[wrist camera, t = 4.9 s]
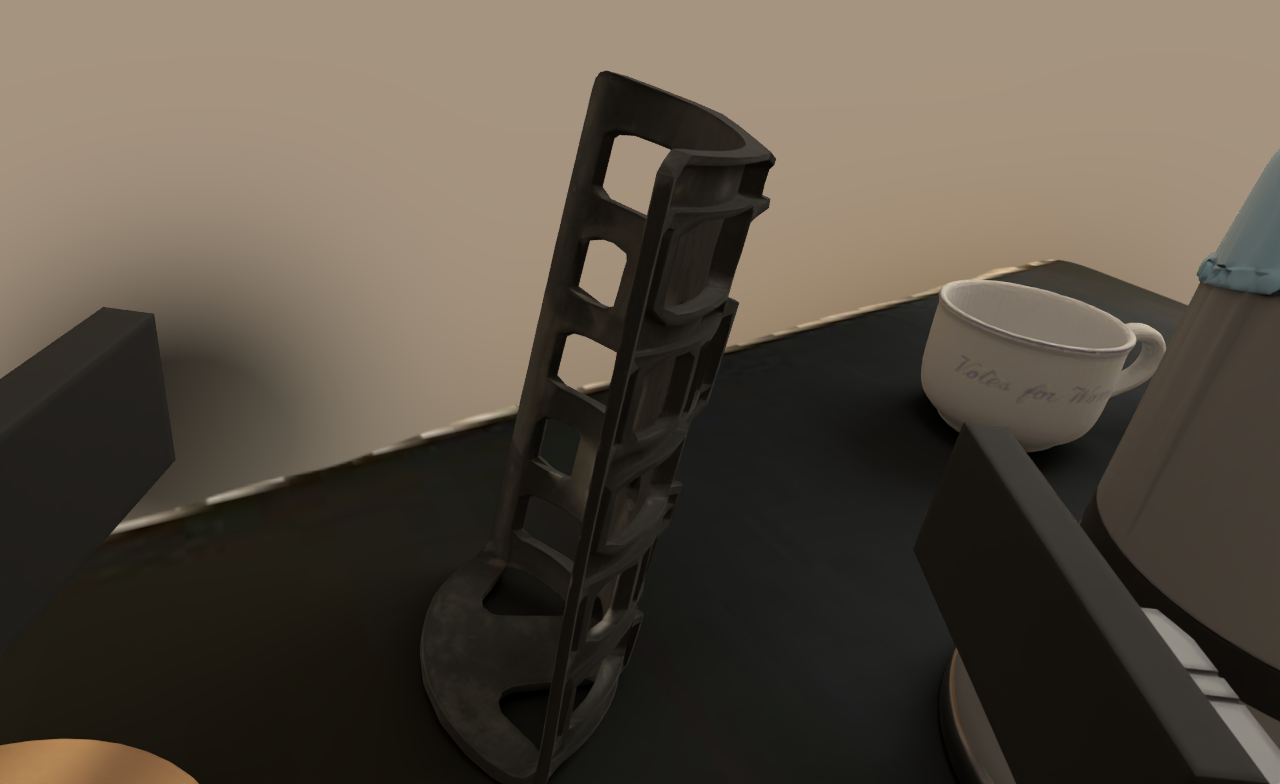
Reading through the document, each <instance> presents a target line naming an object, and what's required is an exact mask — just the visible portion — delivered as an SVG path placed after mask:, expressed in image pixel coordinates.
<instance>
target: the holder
mask: <svg viewBox="0 0 1280 784" xmlns="http://www.w3.org/2000/svg"><path fill="white" fill-rule="evenodd" d="M619 135H631V136H637V137H640V138H642V139H645V140H648V141H650V142H653V143H656V144H658V145H661V146H663V147H665V148H668V149H670V150H671V151H670V152H669V154H668V155H667V157H666V158H665V159H664V161H663V163H662V164H661V166H660V168H659V170H658V172H657V174H656V178H655V183H654V187H653V192H652V196H651V201H650V205H649V210H648V214H647V215H645V214H642V213H640V212H638V211H636V210H634V209H631V208H629V207H627V206H625V205H623V204H621V203H618V202H616V201H614V200H612V199H611V198H610V197H609V195H608V194H607V193H606V191H605V190H604V188H603V183H604V178H605V175H606V170H607V167H608V162H609V158H610V154H611V150H612V146H613V142H614V138H616V137H617V136H619ZM775 161H776V158H775V157H774V156H773V154H772V153H771V152H770V151H769V150H768V149H767V148H766V147H764V146H763V145H762V144H761V143H759V142H758V141H757V140H756V139H755V138H753V137H752V136H751V135H750V134H749V133H747V132H746V131H745V130H744V129H742V128H741V127H740V126H739V125H737V124H736V123H734V122H733V121H732V120H730V119H728V118H727V117H726V116H724V115H723V114H721V113H719V112H716V111H714V110H712V109H709V108H707V107H705V106H702V105H700V104H698V103H696V102H693V101H691V100H688V99H685V98H683V97H680V96H678V95H675V94H672V93H670V92H667V91H664V90H662V89H660V88H657V87H655V86H652V85H649V84H646V83H644V82H641V81H638V80H636V79H633V78H630V77H628V76H624V75H620V74H617V73H613V72H610V71H603V72H600V73H599V75H598V76H597V77H596V79H595V82H594V85H593V89H592V93H591V97H590V101H589V105H588V109H587V114H586V118H585V122H584V126H583V130H582V134H581V139H580V143H579V147H578V151H577V156H576V160H575V164H574V168H573V173H572V177H571V181H570V186H569V189H568V194H567V198H566V202H565V207H564V211H563V215H562V220H561V224H560V229H559V232H558V237H557V241H556V245H555V249H554V254H553V259H552V263H551V268H550V272H549V277H548V282H547V286H546V289H545V294H544V298H543V303H542V308H541V312H540V317H539V321H538V325H537V330H536V334H535V338H534V343H533V348H532V352H531V356H530V361H529V366H528V370H527V374H526V378H525V383H524V387H523V391H522V396H521V400H520V405H519V409H518V414H517V418H516V423H515V428H514V432H513V437H512V442H511V446H510V450H509V454H508V459H507V463H506V468H505V473H504V477H503V482H502V486H501V491H500V496H499V501H498V506H497V511H496V516H495V520H494V524H493V529H492V533H491V537H490V539H489V541H488V543H487V545H486V546H485V547H484V548H483V549H482V550H481V551H480V552H479V554H478V555H477V556H476V557H475V558H473V559H472V560H470V561H469V562H467V563H466V564H464V565H463V566H461V567H460V568H459V569H458V570H456V571H455V572H454V573H453V574H452V575H451V576H450V577H449V578H448V579H447V580H446V581H445V582H444V583H443V585H442V586H441V587H440V588H439V590H438V591H437V592H436V594H435V595H434V597H433V599H432V601H431V604H430V606H429V609H428V611H427V614H426V617H425V621H424V625H423V630H422V635H421V642H420V659H421V668H422V677H423V685H424V687H425V690H426V692H427V694H428V697H429V699H430V701H431V703H432V706H433V708H434V710H435V712H436V715H437V717H438V719H439V722H440V723H441V725H442V726H443V727H444V728H445V730H446V731H447V732H448V733H449V735H450V736H451V737H452V738H453V740H454V741H455V742H456V744H457V745H458V746H459V747H460V749H461V750H462V751H463V752H464V754H465V755H466V756H468V757H469V758H470V759H471V760H472V761H473V762H474V763H476V764H477V765H478V766H479V767H480V768H481V769H482V770H484V771H485V772H486V773H487V774H488V775H490V776H491V777H492V778H493V779H495V780H497V781H498V782H500V783H502V784H547V782H548V779H549V777H550V776H551V775H552V774H553V773H554V771H555V770H556V769H557V767H558V766H559V765H560V764H561V763H562V762H564V761H565V760H566V759H567V758H569V757H570V756H571V755H572V754H574V753H575V752H576V751H577V750H578V749H579V748H580V747H581V746H582V745H583V744H584V743H585V741H586V740H587V739H588V738H589V737H590V736H591V734H592V733H593V732H594V731H595V729H596V728H597V727H598V725H599V724H600V722H601V720H602V719H603V717H604V715H605V714H606V712H607V710H608V708H609V706H610V704H611V702H612V700H613V697H614V694H615V691H616V687H617V684H618V677H619V675H620V674H621V672H622V671H623V670H624V669H625V668H626V666H627V665H628V663H629V660H630V658H631V655H632V652H633V649H634V646H635V643H636V640H637V637H638V634H639V631H640V627H641V624H642V621H643V618H644V614H643V612H642V611H641V610H637V609H638V606H636V604H637V602H638V601H639V598H640V596H641V594H642V592H643V589H644V581H645V577H646V573H647V570H648V567H649V564H650V561H651V557H652V554H653V551H654V548H655V544H656V541H657V538H658V537H659V536H660V535H661V534H662V533H663V531H664V530H665V529H666V528H667V527H668V526H669V525H670V522H671V519H672V516H673V513H674V510H675V507H676V504H677V501H678V499H679V496H680V493H681V490H682V487H683V485H682V484H681V483H680V482H678V481H673V480H674V477H675V474H676V471H677V468H678V465H679V462H680V458H681V454H682V450H683V446H684V442H685V438H686V434H687V432H688V429H689V426H690V423H691V420H692V419H693V418H694V417H695V416H696V415H697V414H698V413H699V412H700V411H701V410H703V408H704V407H705V406H706V405H707V404H708V401H709V398H710V395H711V391H712V388H713V385H714V382H715V379H716V376H717V373H718V369H719V366H720V363H721V360H722V357H723V354H724V350H725V347H726V344H727V340H728V337H729V334H730V331H731V328H732V325H733V321H734V318H735V315H736V312H737V308H738V305H739V302H737V301H736V300H734V299H732V298H729V297H728V295H729V292H730V288H731V285H732V281H733V278H734V274H735V270H736V267H737V265H738V262H739V259H740V256H741V253H742V250H743V246H744V243H745V239H746V236H747V233H748V229H749V226H750V223H751V222H752V221H753V219H755V218H756V217H757V216H758V215H760V214H761V213H762V212H764V211H765V210H767V209H768V208H769V203H770V199H769V198H768V197H765V196H763V195H762V193H763V189H764V184H765V181H766V178H767V175H768V172H769V169H770V168H771V167H773V166H774V164H775ZM590 240H606V241H609V242H612V243H614V244H616V245H617V246H618V247H619V248H620V249H621V250H623V251H624V252H625V253H626V255H627V262H626V265H625V268H624V271H623V275H622V279H621V283H620V286H619V290H618V293H617V297H616V300H615V303H614V306H613V307H608V306H605V305H603V304H601V303H600V302H598V301H597V300H596V299H595V298H593V297H592V296H591V295H589V294H588V293H587V292H585V291H584V290H583V289H582V288H580V287H579V282H580V278H581V274H582V270H583V266H584V262H585V258H586V254H587V250H588V246H589V242H590ZM571 334H578V335H581V336H585V337H587V338H590V339H592V340H594V341H596V342H598V343H600V344H602V345H604V346H605V347H607V348H609V349H612V350H613V351H615V352H617V356H616V361H615V366H614V371H613V375H612V379H611V383H610V388H609V394H608V401H607V407H606V406H604V405H603V404H601V403H600V402H598V401H596V400H594V399H592V398H590V397H588V396H586V395H584V394H583V393H581V392H579V391H577V390H575V389H573V388H571V387H569V386H567V385H566V384H565V383H564V382H563V381H562V380H561V379H560V378H559V377H558V375H557V374H558V370H559V366H560V362H561V358H562V354H563V350H564V346H565V342H566V338H567V336H569V335H571ZM548 419H556V420H559V421H562V422H564V423H566V424H568V425H570V426H571V427H573V428H575V430H576V431H577V432H578V434H579V435H580V437H581V438H580V442H579V446H578V450H577V455H576V459H575V463H574V467H573V471H572V474H571V476H568V475H566V474H564V473H561V472H559V471H557V470H555V469H553V468H552V467H551V466H550V465H549V464H548V463H547V462H546V461H545V460H544V459H543V458H542V457H541V456H540V451H541V447H542V442H543V438H544V433H545V429H546V425H547V420H548ZM529 496H536V497H539V498H541V499H544V500H546V501H548V502H550V503H552V504H554V505H556V506H558V507H559V508H561V509H563V510H564V511H566V512H567V513H568V514H570V515H571V516H573V517H574V518H575V519H577V520H578V521H579V522H580V523H581V524H582V526H581V531H580V536H579V540H578V545H577V550H576V555H575V559H574V562H572V561H571V560H570V559H568V558H567V557H565V556H564V555H562V554H560V553H559V552H557V551H555V550H554V549H552V548H550V547H548V546H547V545H545V544H543V543H542V542H540V541H538V540H536V539H534V538H532V537H531V536H530V535H529V534H528V533H527V532H526V531H525V530H524V529H523V528H522V527H523V523H524V518H525V514H526V510H527V505H528V501H529ZM508 566H511V567H514V568H517V569H519V570H521V571H524V572H526V573H528V574H530V575H532V576H534V577H536V578H537V579H539V580H540V581H542V582H543V583H545V584H546V585H548V586H549V587H550V588H551V589H553V590H554V591H555V592H557V593H558V594H559V595H560V596H561V597H562V598H563V599H564V600H565V601H566V605H565V610H564V615H563V616H498V615H495V614H492V613H490V612H489V611H488V610H486V609H485V608H484V607H483V606H482V600H483V599H484V598H485V597H486V595H487V594H488V593H489V592H490V590H491V589H492V588H493V586H494V585H495V584H496V583H497V581H498V580H499V579H500V578H501V576H502V575H503V574H504V573H505V571H506V570H507V568H508ZM593 683H594V685H593V687H592V688H591V690H590V692H589V693H588V695H587V697H586V698H585V700H584V701H583V702H582V703H581V704H580V705H579V706H578V708H577V709H576V710H575V711H574V712H573V713H572V710H573V705H574V699H575V694H576V689H577V686H581V685H587V684H593ZM545 689H550V694H549V700H548V706H547V712H546V718H545V724H544V729H543V735H542V741H541V746H540V749H539V748H537V747H536V746H535V745H534V744H533V743H532V742H531V741H530V740H529V739H528V738H527V737H526V736H525V735H523V734H522V733H521V732H520V731H519V730H518V729H517V728H516V727H515V726H514V725H513V724H512V723H511V722H510V721H509V720H508V719H507V718H506V717H505V716H504V715H503V714H502V713H501V710H500V706H499V702H500V700H501V699H502V698H504V697H506V696H508V695H510V694H512V693H517V692H526V691H536V690H545Z"/></svg>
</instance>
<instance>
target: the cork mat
mask: <svg viewBox="0 0 1280 784" xmlns="http://www.w3.org/2000/svg"><path fill="white" fill-rule="evenodd" d="M0 784H199V783H198V782H197V781H196V780H195V779H194V778H193V777H192V776H190V775H189V774H187V773H186V772H184V771H183V770H181V769H180V768H178V767H177V766H175V765H174V764H172V763H171V762H169V761H167V760H164V759H162V758H160V757H158V756H156V755H154V754H151V753H149V752H147V751H143V750H140V749H136V748H133V747H129V746H126V745H123V744H117V743H110V742H104V741H97V740H82V739H52V740H36V741H26V742H20V743H13V744H7V745H0Z"/></svg>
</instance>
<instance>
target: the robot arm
mask: <svg viewBox="0 0 1280 784" xmlns="http://www.w3.org/2000/svg"><path fill="white" fill-rule="evenodd" d="M1197 276H1198V277H1199V281H1200V284H1199V286H1198V288H1197V290H1196V292H1195V294H1194V296H1193V298H1192V300H1191V302H1190V304H1189V306H1188V308H1187V310H1186V312H1185V314H1184V316H1183V318H1182V320H1181V322H1180V324H1179V326H1178V327H1177V329H1176V331H1175V333H1174V335H1173V337H1172V339H1171V341H1170V343H1169V345H1168V347H1167V349H1166V351H1165V353H1164V355H1163V357H1162V359H1161V361H1160V363H1159V365H1158V367H1157V369H1156V371H1155V373H1154V375H1153V377H1152V379H1151V381H1150V383H1149V385H1148V387H1147V389H1146V391H1145V393H1144V395H1143V397H1142V399H1141V401H1140V403H1139V405H1138V407H1137V409H1136V411H1135V413H1134V415H1133V417H1132V419H1131V421H1130V423H1129V425H1128V427H1127V429H1126V431H1125V433H1124V435H1123V437H1122V439H1121V441H1120V443H1119V445H1118V447H1117V449H1116V451H1115V453H1114V455H1113V457H1112V459H1111V461H1110V463H1109V465H1108V467H1107V469H1106V471H1105V473H1104V475H1103V477H1102V479H1101V481H1100V483H1099V485H1098V487H1097V489H1096V491H1095V493H1094V495H1093V497H1092V499H1091V500H1090V502H1089V504H1088V506H1087V508H1086V510H1085V512H1084V514H1083V516H1082V518H1081V520H1080V522H1079V524H1078V522H1077V521H1076V519H1075V518H1074V517H1073V515H1072V514H1071V513H1070V511H1069V510H1068V509H1067V507H1066V506H1065V505H1064V503H1063V502H1062V500H1061V499H1060V498H1059V496H1058V495H1057V494H1056V492H1055V491H1054V490H1053V488H1052V487H1051V486H1050V484H1049V483H1048V481H1047V480H1046V479H1045V477H1044V476H1043V475H1042V473H1041V472H1040V471H1039V469H1038V468H1037V466H1036V465H1035V464H1034V462H1033V461H1032V460H1031V458H1030V457H1029V456H1028V454H1027V453H1026V452H1025V450H1024V449H1023V447H1022V446H1021V445H1020V443H1019V442H1018V441H1017V439H1016V438H1015V437H1014V435H1013V434H1012V433H1011V431H1010V430H1009V428H1007V427H1000V426H992V425H985V424H977V423H970V422H964V423H963V425H962V428H961V430H960V433H959V435H958V438H957V440H956V443H955V445H954V448H953V450H952V453H951V455H950V458H949V461H948V463H947V466H946V468H945V471H944V473H943V476H942V478H941V481H940V483H939V486H938V488H937V491H936V493H935V496H934V498H933V501H932V503H931V506H930V508H929V511H928V513H927V516H926V518H925V521H924V523H923V526H922V529H921V531H920V534H919V536H918V539H917V541H916V544H915V546H914V549H913V550H914V552H915V554H916V557H917V559H918V561H919V564H920V566H921V568H922V570H923V573H924V575H925V577H926V580H927V582H928V584H929V586H930V589H931V591H932V593H933V596H934V598H935V600H936V602H937V605H938V607H939V609H940V611H941V614H942V616H943V618H944V621H945V623H946V625H947V627H948V630H949V632H950V634H951V637H952V639H953V641H954V643H955V646H956V648H955V650H954V652H953V655H952V657H951V659H950V661H949V663H948V666H947V668H946V670H945V673H944V676H943V679H942V683H941V688H940V695H939V714H940V724H941V729H942V734H943V739H944V743H945V746H946V749H947V752H948V756H949V759H950V761H951V764H952V766H953V768H954V771H955V773H956V776H957V778H958V780H959V782H960V784H1280V149H1279V150H1278V151H1277V152H1276V154H1275V155H1274V156H1273V157H1272V158H1271V160H1270V161H1269V163H1268V164H1267V166H1266V167H1265V169H1264V171H1263V172H1262V174H1261V176H1260V178H1259V179H1258V181H1257V183H1256V184H1255V186H1254V188H1253V189H1252V191H1251V193H1250V194H1249V196H1248V198H1247V200H1246V201H1245V203H1244V205H1243V206H1242V208H1241V210H1240V211H1239V213H1238V215H1237V216H1236V218H1235V220H1234V222H1233V223H1232V225H1231V226H1230V228H1229V230H1228V232H1227V233H1226V235H1225V237H1224V238H1223V240H1222V242H1221V244H1220V245H1219V247H1218V248H1217V250H1216V252H1214V253H1212V254H1211V255H1209V256H1208V257H1206V258H1205V259H1204V260H1203V262H1202V263H1201V266H1200V267H1199V270H1198V272H1197ZM174 461H175V454H174V446H173V440H172V433H171V426H170V419H169V412H168V406H167V399H166V392H165V385H164V378H163V372H162V365H161V358H160V351H159V344H158V338H157V331H156V324H155V317H154V314H151V313H144V312H136V311H128V310H121V309H114V308H106V307H103V308H101V309H100V310H98V311H97V312H96V313H94V314H93V315H91V316H90V317H88V318H87V319H86V320H84V321H83V322H81V323H80V324H78V325H77V326H75V327H74V328H73V329H71V330H70V331H68V332H67V333H65V334H64V335H63V336H61V337H60V338H58V339H57V340H55V341H54V342H53V343H51V344H50V345H48V346H47V347H45V348H44V349H43V350H41V351H40V352H38V353H37V354H36V355H34V356H33V357H31V358H30V359H28V360H27V361H25V362H24V363H23V364H21V365H20V366H18V367H17V368H15V369H14V370H13V371H11V372H10V373H8V374H7V375H5V376H4V377H3V378H1V379H0V658H1V657H2V656H3V655H4V654H5V653H6V652H7V651H8V649H9V648H10V647H11V646H12V645H13V644H14V643H15V641H16V640H17V639H18V638H19V637H20V636H21V635H22V633H23V632H24V631H25V630H26V629H27V628H28V627H29V626H30V624H31V623H32V622H33V621H34V620H35V619H36V618H37V616H38V615H39V614H40V613H41V612H42V611H43V610H44V609H45V607H46V606H47V605H48V604H49V603H50V602H51V601H52V599H53V598H54V597H55V596H56V595H57V594H58V593H59V591H60V590H61V589H62V588H63V587H64V586H65V585H66V584H67V582H68V581H69V580H70V579H71V578H72V577H73V576H74V574H75V573H76V572H77V571H78V570H79V569H80V568H81V566H82V565H83V564H84V563H85V562H86V561H87V560H88V559H89V557H90V556H91V555H92V554H93V553H94V552H95V551H96V549H97V548H98V547H99V546H100V545H101V544H102V543H103V542H104V540H105V539H106V538H107V537H108V536H109V535H110V534H111V532H112V531H113V530H114V529H115V528H116V527H117V526H118V524H119V523H120V522H121V521H122V520H123V519H124V518H125V517H126V515H127V514H128V513H129V512H130V511H131V510H132V508H133V507H134V506H135V505H136V504H137V503H138V502H139V501H140V499H141V498H142V497H143V496H144V495H145V494H146V493H147V492H148V490H149V489H150V488H151V487H152V486H153V485H154V484H155V482H156V481H157V480H158V479H159V478H160V477H161V476H162V474H163V473H164V472H165V471H166V470H167V469H168V468H169V467H170V465H171V464H172V463H173V462H174Z"/></svg>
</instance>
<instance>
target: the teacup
mask: <svg viewBox="0 0 1280 784" xmlns="http://www.w3.org/2000/svg"><path fill="white" fill-rule="evenodd" d="M1136 341H1142V350H1141V353H1140V355H1139V357H1138V358H1137V359H1136V361H1135V362H1134V363H1133V364H1132V365H1131V366H1129V367H1128V368H1126V369H1125V370H1123V371H1121V370H1122V367H1123V365H1124V362H1125V360H1126V358H1127V355H1128V353H1129V352H1130V351H1131V350H1132V349H1133V348H1134V346H1135V344H1136ZM1165 351H1166V346H1165V342H1164V339H1163V337H1162V336H1161V334H1160V333H1159V332H1157V331H1156V330H1155V329H1153V328H1151V327H1150V326H1148V325H1145V324H1142V323H1129V324H1123V323H1122V322H1121V321H1120V320H1119V319H1117V318H1115V317H1113V316H1112V315H1110V314H1108V313H1106V312H1104V311H1102V310H1100V309H1098V308H1096V307H1094V306H1091V305H1088V304H1086V303H1083V302H1081V301H1079V300H1076V299H1073V298H1070V297H1067V296H1061V295H1059V294H1056V293H1053V292H1050V291H1047V290H1042V289H1037V288H1033V287H1028V286H1023V285H1019V284H1013V283H1007V282H1001V281H989V280H960V281H954V282H951V283H948V284H946V285H944V286H943V287H942V288H941V290H940V292H939V304H938V307H937V310H936V314H935V317H934V320H933V323H932V327H931V330H930V334H929V337H928V341H927V344H926V348H925V352H924V356H923V361H922V368H921V380H922V385H923V389H924V391H925V393H926V395H927V397H928V398H929V400H930V401H931V403H932V404H933V405H934V406H935V407H936V408H937V411H938V413H939V414H940V416H941V417H942V418H943V419H944V421H945V422H946V423H947V424H948V425H949V426H951V427H952V428H953V429H955V430H956V431H958V432H959V433H960V430H961V428H962V425H963V423H964V422H970V423H977V424H985V425H992V426H1000V427H1007V428H1009V430H1010V431H1011V433H1012V434H1013V435H1014V437H1015V438H1016V439H1017V441H1018V442H1019V443H1020V445H1021V446H1022V447H1023V449H1024V450H1025V452H1036V451H1041V450H1046V449H1048V448H1051V447H1053V446H1057V445H1061V444H1065V443H1069V442H1071V441H1074V440H1076V439H1078V438H1080V437H1082V436H1083V435H1084V434H1086V433H1087V432H1088V431H1089V430H1090V429H1091V428H1092V427H1093V425H1094V424H1095V423H1096V421H1097V420H1098V418H1099V416H1100V415H1101V413H1102V411H1103V409H1104V407H1105V405H1106V403H1107V401H1108V399H1109V398H1110V397H1113V396H1116V395H1118V394H1121V393H1124V392H1126V391H1129V390H1131V389H1133V388H1135V387H1137V386H1139V385H1141V384H1143V383H1144V382H1146V381H1147V380H1148V379H1150V378H1151V377H1152V376H1153V375H1154V373H1155V371H1156V369H1157V367H1158V365H1159V363H1160V361H1161V359H1162V357H1163V355H1164V353H1165Z"/></svg>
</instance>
